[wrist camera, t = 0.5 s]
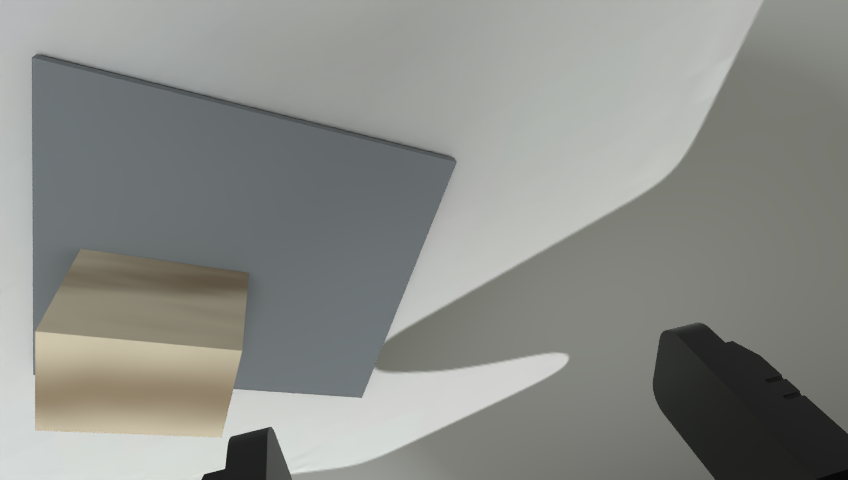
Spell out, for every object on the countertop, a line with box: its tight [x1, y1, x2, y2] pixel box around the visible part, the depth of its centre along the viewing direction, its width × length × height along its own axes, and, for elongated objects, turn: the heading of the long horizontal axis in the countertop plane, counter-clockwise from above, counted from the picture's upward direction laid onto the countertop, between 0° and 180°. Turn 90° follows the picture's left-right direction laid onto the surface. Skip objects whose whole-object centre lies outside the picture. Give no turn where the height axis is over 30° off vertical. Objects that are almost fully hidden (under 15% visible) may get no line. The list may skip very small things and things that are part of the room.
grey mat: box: [32, 54, 456, 398], centre depth 29 cm, size 18×19×1 cm
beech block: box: [35, 249, 249, 437], centre depth 27 cm, size 6×8×6 cm
